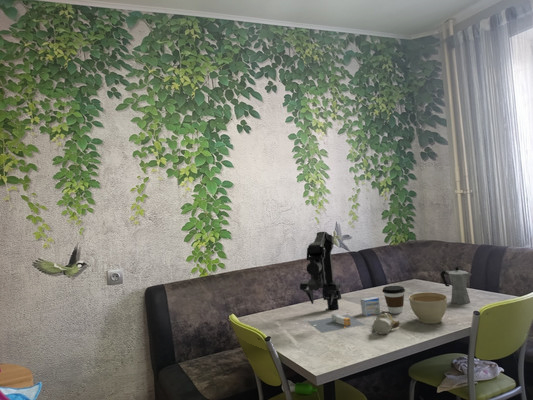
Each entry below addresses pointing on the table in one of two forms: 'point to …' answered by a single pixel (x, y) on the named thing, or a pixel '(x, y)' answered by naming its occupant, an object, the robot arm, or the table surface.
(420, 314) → the planter bowl
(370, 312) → the medicine box
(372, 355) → the table surface
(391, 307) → the coffee cup
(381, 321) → the ceramic sculpture
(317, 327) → the dial board
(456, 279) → the coffeepot
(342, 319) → the white and tan block
